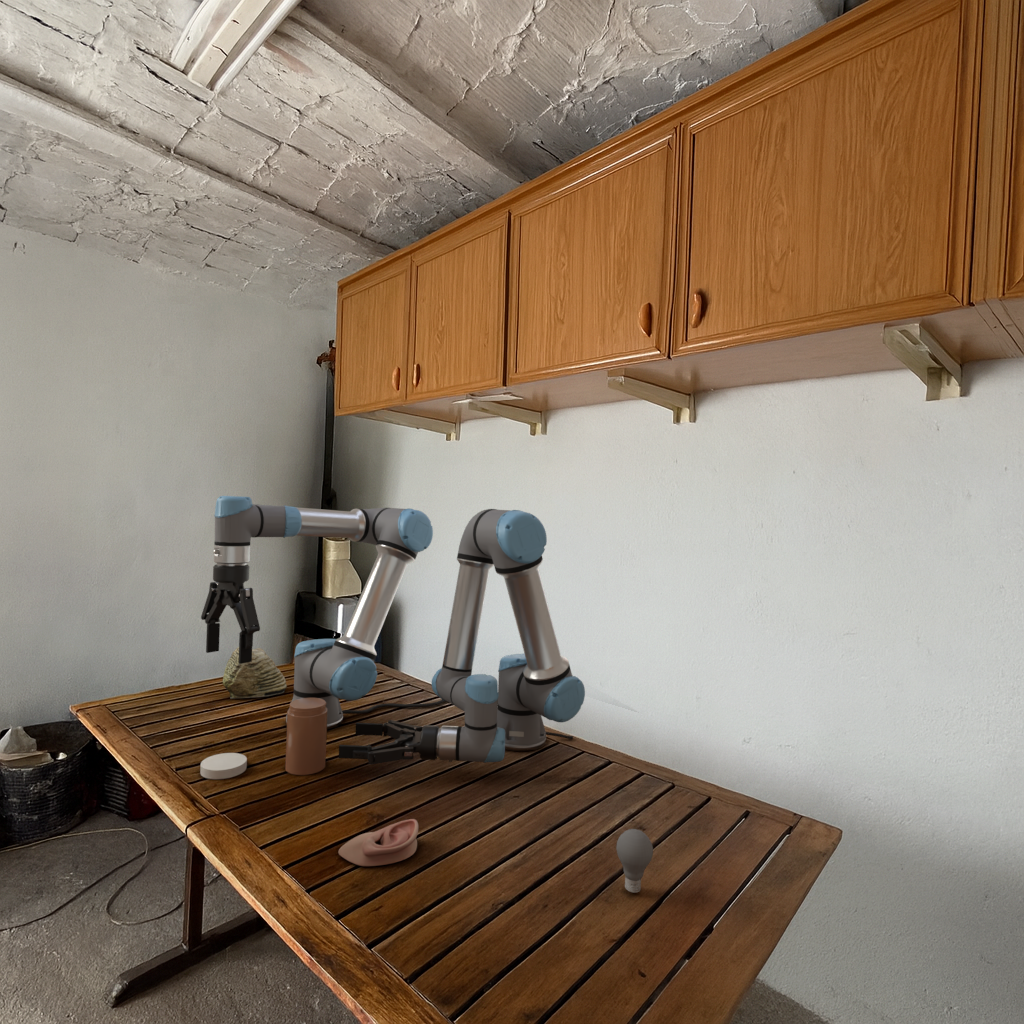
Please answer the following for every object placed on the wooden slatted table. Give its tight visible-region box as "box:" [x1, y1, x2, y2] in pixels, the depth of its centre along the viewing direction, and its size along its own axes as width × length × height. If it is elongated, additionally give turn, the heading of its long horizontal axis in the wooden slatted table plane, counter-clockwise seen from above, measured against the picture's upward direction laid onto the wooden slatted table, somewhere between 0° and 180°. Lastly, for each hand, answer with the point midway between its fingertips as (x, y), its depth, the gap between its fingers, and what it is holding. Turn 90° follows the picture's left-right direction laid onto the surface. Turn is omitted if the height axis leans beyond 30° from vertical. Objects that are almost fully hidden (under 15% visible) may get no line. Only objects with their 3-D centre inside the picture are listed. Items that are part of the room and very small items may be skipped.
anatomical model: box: [337, 818, 419, 867], centre depth 114 cm, size 13×4×12 cm
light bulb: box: [615, 828, 654, 894], centre depth 106 cm, size 6×6×10 cm
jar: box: [284, 698, 328, 776], centre depth 148 cm, size 9×9×15 cm
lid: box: [199, 752, 248, 780], centre depth 144 cm, size 10×10×2 cm
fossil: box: [222, 646, 288, 699], centre depth 198 cm, size 9×18×15 cm, turn 132°
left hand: (228, 657), depth 144 cm, fingers open, 13 cm apart
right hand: (347, 739), depth 147 cm, fingers open, 13 cm apart
